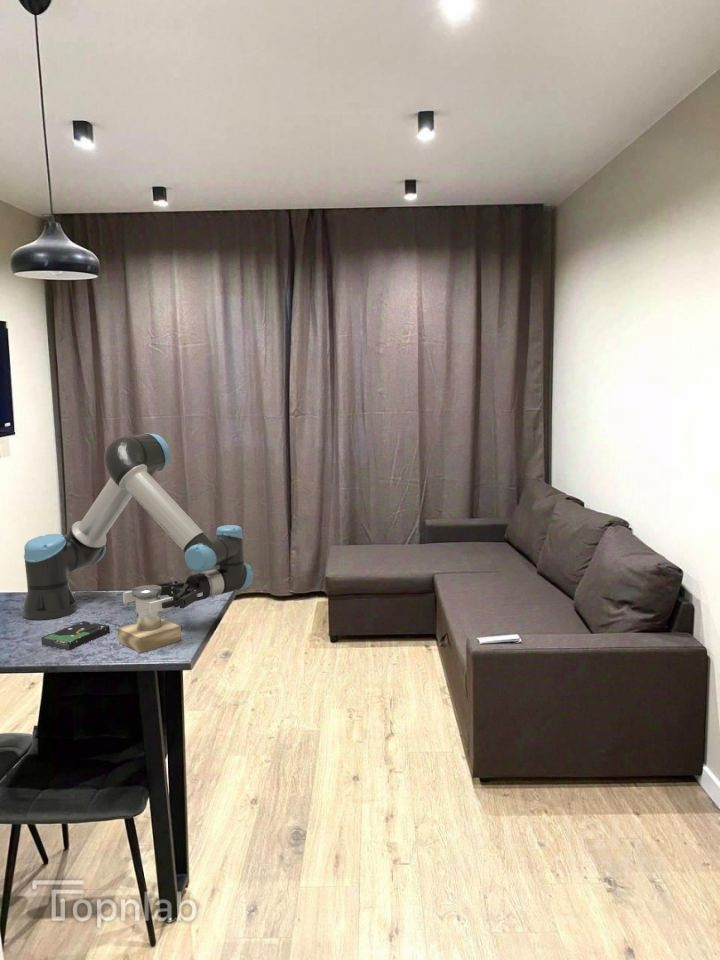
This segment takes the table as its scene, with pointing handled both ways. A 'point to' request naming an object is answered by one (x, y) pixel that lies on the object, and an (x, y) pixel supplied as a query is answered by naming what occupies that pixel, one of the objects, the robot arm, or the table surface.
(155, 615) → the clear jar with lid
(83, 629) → the disk drive
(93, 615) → the table surface
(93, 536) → the robot arm
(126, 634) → the stand
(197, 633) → the table surface
